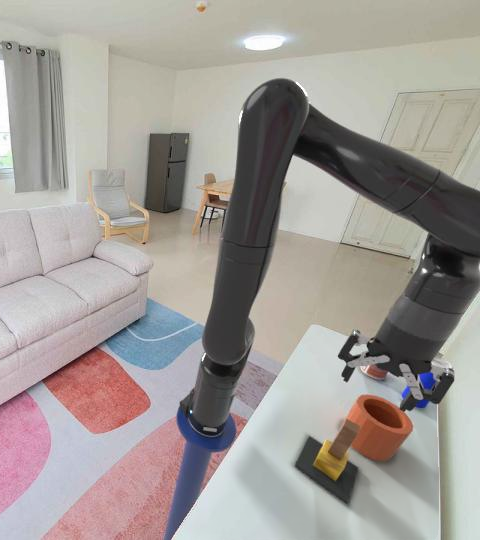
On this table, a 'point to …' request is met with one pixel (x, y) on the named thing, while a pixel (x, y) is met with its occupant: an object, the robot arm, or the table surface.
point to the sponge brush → (336, 450)
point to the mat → (338, 487)
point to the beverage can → (428, 380)
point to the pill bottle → (374, 371)
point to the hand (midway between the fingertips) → (372, 393)
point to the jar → (378, 427)
